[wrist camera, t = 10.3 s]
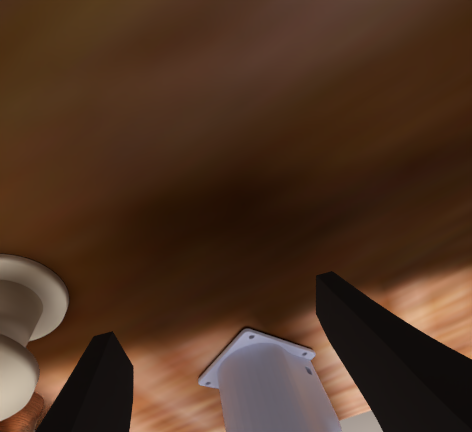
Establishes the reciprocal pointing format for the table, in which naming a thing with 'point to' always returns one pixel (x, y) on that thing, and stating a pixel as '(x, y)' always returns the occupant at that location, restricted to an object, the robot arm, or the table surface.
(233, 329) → the table surface
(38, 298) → the bobbin
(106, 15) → the table surface
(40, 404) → the copper peg
